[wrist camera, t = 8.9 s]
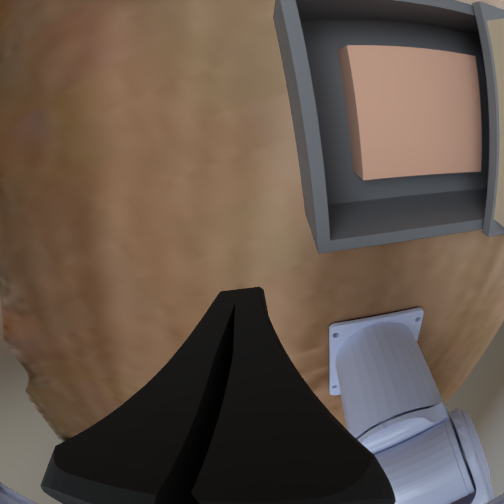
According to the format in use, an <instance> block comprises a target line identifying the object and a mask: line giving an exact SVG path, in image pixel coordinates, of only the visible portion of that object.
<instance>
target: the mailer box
mask: <svg viewBox="0 0 504 504" xmlns="http://www.w3.org/2000/svg"><path fill="white" fill-rule="evenodd" d="M273 18H274V23H275V27H276V32H277V37H278V42H279V47H280V52H281V57H282V62H283V67H284V73H285V78H286V83H287V89H288V95H289V101H290V107H291V113H292V119H293V125H294V131H295V138H296V145H297V152H298V159H299V166H300V173H301V181H302V189H303V197H304V205H305V213H306V217H307V220H308V223H309V226H310V229H311V232H312V235H313V238H314V241H315V244H316V247H317V250H318V254H319V253H326V252H333V251H340V250H347V249H354V248H361V247H368V246H375V245H382V244H388V243H395V242H402V241H408V240H415V239H422V238H428V237H435V236H441V235H448V234H454V233H461V232H467V231H473V230H480V229H483V224H484V216H485V208H486V199H487V188H488V174H489V148H490V130H489V104H488V91H487V81H486V72H485V64H484V57H483V51H482V45H481V40H480V35H479V30H478V25H477V21H476V16H475V12H474V8H473V5H470V4H466V3H463V2H459V1H455V0H276V1H275V8H274V16H273Z"/></svg>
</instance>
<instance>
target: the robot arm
mask: <svg viewBox="0 0 504 504" xmlns="http://www.w3.org/2000/svg"><path fill="white" fill-rule="evenodd" d="M423 315H424V311H423V310H422V308H414V309H409V310H405V311H400V312H395V313H390V314H385V315H379V316H374V317H368V318H363V319H357V320H351V321H345V322H339V323H334V324H332V325H331V326H330V327H329V392H330V394H331V395H339V394H341V399H342V405H343V410H344V416H345V422H346V427H347V430H346V429H345V427H344V426H343V425H342V424H341V423H340V422H339V421H338V420H337V419H336V418H335V417H334V416H333V415H332V414H331V413H330V412H329V410H328V409H327V408H326V407H325V406H324V405H323V403H322V402H321V401H320V400H319V399H318V397H317V396H316V395H315V394H314V393H313V391H312V390H311V389H310V388H309V386H308V385H307V383H306V382H305V381H304V379H303V378H302V377H301V375H300V374H299V372H298V371H297V369H296V368H295V366H294V365H293V363H292V362H291V360H290V358H289V357H288V355H287V353H286V351H285V350H284V348H283V346H282V344H281V342H280V340H279V338H278V336H277V334H276V332H275V330H274V328H273V326H272V323H271V321H270V319H269V316H268V311H267V306H266V301H265V295H264V290H263V289H262V288H260V287H254V288H246V289H238V290H229V291H221V292H220V293H219V294H218V296H217V297H216V299H215V300H214V301H213V303H212V304H211V306H210V307H209V309H208V310H207V312H206V313H205V315H204V316H203V318H202V319H201V321H200V322H199V323H198V325H197V326H196V327H195V329H194V330H193V332H192V333H191V334H190V336H189V337H188V338H187V340H186V341H185V342H184V343H183V345H182V346H181V347H180V348H179V350H178V351H177V352H176V353H175V354H174V356H173V357H172V358H171V359H170V360H169V362H168V363H167V364H166V365H165V366H164V367H163V368H162V369H161V370H160V371H159V372H158V373H157V374H156V375H155V376H154V377H153V378H152V379H151V380H150V381H149V382H148V383H147V384H146V385H145V386H144V387H143V388H142V389H140V390H139V391H138V392H137V393H136V394H134V395H133V396H132V397H131V398H130V399H129V400H127V401H126V402H125V403H124V404H123V405H121V406H120V407H119V408H117V409H116V410H115V411H113V412H112V413H111V414H109V415H108V416H106V417H105V418H103V419H102V420H100V421H99V422H97V423H96V424H94V425H93V426H91V427H90V428H88V429H86V430H85V431H83V432H81V433H79V434H77V435H76V436H74V437H72V438H70V439H68V440H66V441H65V442H63V443H61V444H59V445H57V446H55V449H54V451H53V454H52V456H51V459H50V461H49V464H48V467H47V470H46V472H45V475H44V478H43V480H42V483H41V488H42V490H43V491H44V492H45V493H46V494H48V495H49V496H51V497H52V498H54V499H56V500H57V501H59V502H61V503H63V504H504V493H503V494H502V495H500V496H498V497H496V498H494V492H493V488H492V485H491V481H490V477H491V474H490V470H489V467H488V464H487V460H486V457H485V455H484V452H483V449H482V446H481V443H480V440H479V438H478V435H477V432H476V430H475V427H474V425H473V423H472V420H471V418H470V416H469V414H468V412H467V411H463V410H461V411H460V409H458V408H457V409H455V410H454V411H452V412H451V415H452V418H453V419H452V418H451V416H450V414H449V412H448V410H447V408H446V406H445V404H444V402H443V400H442V397H441V395H440V393H439V390H438V388H437V385H436V383H435V381H434V378H433V376H432V374H431V372H430V369H429V367H428V365H427V363H426V361H425V358H424V356H423V354H422V352H421V350H420V348H419V346H418V343H417V341H418V337H419V333H420V329H421V324H422V320H423ZM416 318H417V319H416ZM335 333H337V334H335ZM453 421H454V422H453ZM493 498H494V499H493ZM492 499H493V500H492ZM0 504H37V503H35V502H33V501H31V500H29V499H28V498H26V497H24V496H22V495H20V494H19V493H17V492H15V491H14V490H12V489H10V488H8V487H7V486H5V485H3V484H2V483H0Z"/></svg>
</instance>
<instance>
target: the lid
mask: <svg viewBox="0 0 504 504" xmlns="http://www.w3.org/2000/svg"><path fill="white" fill-rule="evenodd" d="M472 5H473V8H474V12H475V16H476V21H477V25H478V30H479V35H480V40H481V45H482V51H483V57H484V64H485V72H486V81H487V91H488V104H489V130H490V148H489V174H488V188H487V199H486V208H485V216H484V224H483V230H482V232H483V233H484V234H485V235H486V236H488V237H491V236H497V235H502V234H504V10H502V9H500V8H497V7H494V6H491V5H488V4H485V3H482V2H475V3H472Z"/></svg>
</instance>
